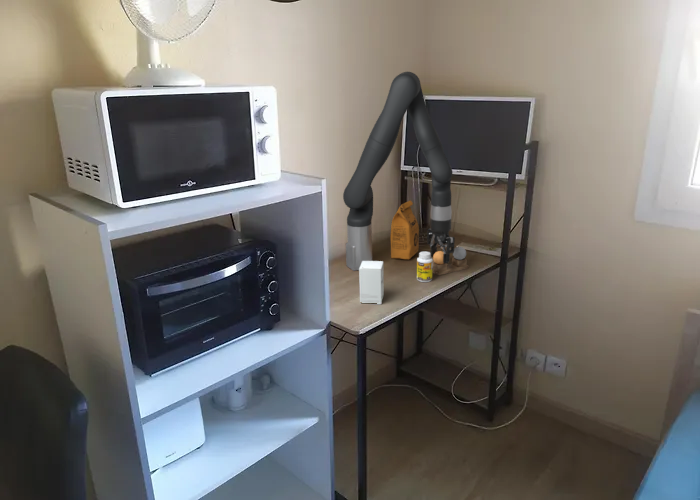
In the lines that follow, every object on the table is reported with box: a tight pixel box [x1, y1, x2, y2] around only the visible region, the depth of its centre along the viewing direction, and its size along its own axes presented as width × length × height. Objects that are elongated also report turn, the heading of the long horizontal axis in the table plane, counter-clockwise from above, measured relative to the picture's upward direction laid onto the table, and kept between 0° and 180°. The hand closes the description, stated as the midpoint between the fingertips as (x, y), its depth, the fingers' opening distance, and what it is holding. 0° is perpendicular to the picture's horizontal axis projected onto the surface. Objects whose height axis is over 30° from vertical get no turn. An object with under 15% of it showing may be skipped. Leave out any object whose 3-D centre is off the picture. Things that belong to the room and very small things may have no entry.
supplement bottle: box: [416, 251, 433, 283], centre depth 194 cm, size 6×6×10 cm
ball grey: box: [452, 246, 467, 260], centre depth 204 cm, size 5×5×5 cm
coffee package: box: [390, 200, 420, 260], centre depth 216 cm, size 10×12×22 cm
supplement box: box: [358, 260, 385, 305], centre depth 179 cm, size 7×7×13 cm
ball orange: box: [432, 250, 444, 264], centre depth 201 cm, size 5×5×5 cm
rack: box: [432, 257, 469, 276], centre depth 204 cm, size 14×5×4 cm, turn 117°
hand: (439, 259), depth 201 cm, fingers open, 7 cm apart
